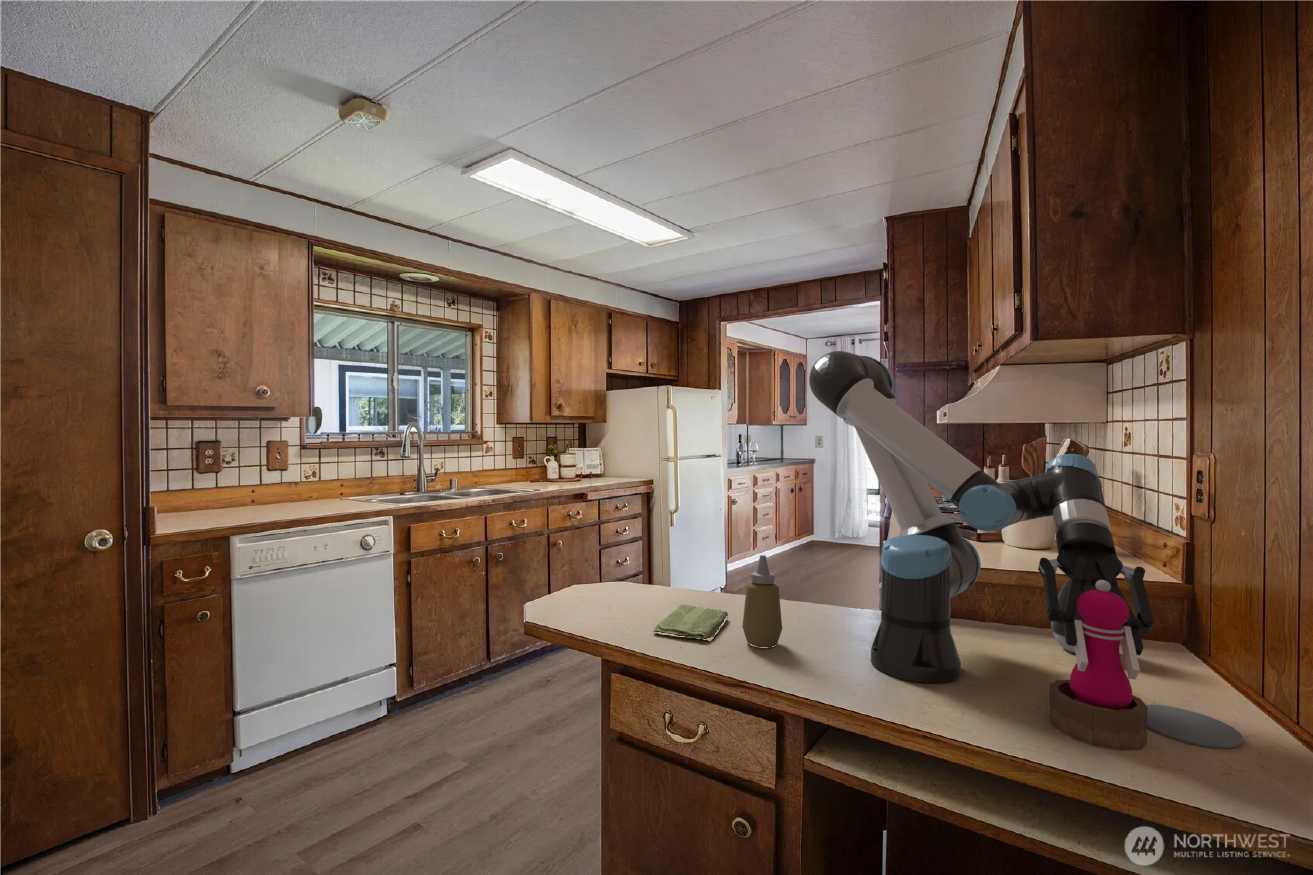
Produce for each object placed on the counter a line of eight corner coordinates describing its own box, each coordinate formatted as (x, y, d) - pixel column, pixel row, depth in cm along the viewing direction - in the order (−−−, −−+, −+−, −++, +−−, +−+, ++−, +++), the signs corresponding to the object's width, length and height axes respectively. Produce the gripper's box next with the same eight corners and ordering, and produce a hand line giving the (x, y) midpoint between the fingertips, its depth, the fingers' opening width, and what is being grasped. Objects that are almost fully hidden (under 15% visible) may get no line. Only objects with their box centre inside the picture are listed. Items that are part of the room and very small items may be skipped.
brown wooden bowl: (1036, 724, 86) (1036, 690, 86) (1067, 705, 92) (1068, 674, 92) (1129, 758, 77) (1129, 720, 77) (1156, 735, 83) (1157, 700, 83)
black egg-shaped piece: (1128, 658, 113) (1129, 579, 113) (1088, 663, 110) (1088, 582, 110) (1077, 640, 123) (1077, 568, 123) (1038, 645, 120) (1039, 571, 120)
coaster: (1119, 721, 87) (1119, 717, 87) (1146, 701, 94) (1146, 698, 94) (1230, 758, 77) (1230, 753, 77) (1251, 732, 84) (1252, 728, 84)
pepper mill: (1143, 734, 80) (1147, 588, 80) (1084, 727, 81) (1088, 584, 81) (1113, 709, 87) (1117, 575, 87) (1059, 704, 88) (1062, 572, 88)
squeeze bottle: (737, 648, 116) (738, 557, 116) (747, 635, 124) (747, 550, 124) (778, 654, 113) (779, 561, 113) (785, 640, 120) (786, 553, 121)
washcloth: (650, 637, 123) (650, 622, 123) (679, 614, 139) (679, 601, 139) (710, 646, 118) (710, 630, 118) (732, 621, 134) (732, 607, 134)
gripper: (1146, 553, 94) (1184, 695, 79) (1015, 542, 102) (1028, 670, 87) (1159, 524, 89) (1201, 670, 74) (1021, 515, 97) (1034, 646, 82)
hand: (1108, 670), depth 81 cm, fingers closed on pepper mill, 5 cm apart
